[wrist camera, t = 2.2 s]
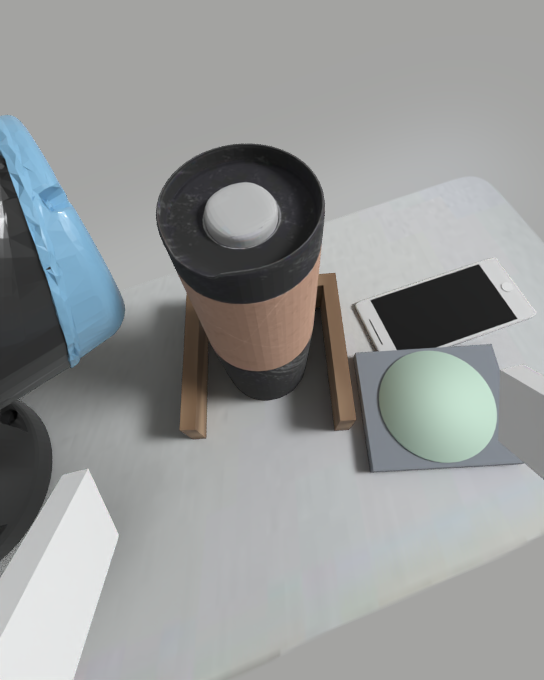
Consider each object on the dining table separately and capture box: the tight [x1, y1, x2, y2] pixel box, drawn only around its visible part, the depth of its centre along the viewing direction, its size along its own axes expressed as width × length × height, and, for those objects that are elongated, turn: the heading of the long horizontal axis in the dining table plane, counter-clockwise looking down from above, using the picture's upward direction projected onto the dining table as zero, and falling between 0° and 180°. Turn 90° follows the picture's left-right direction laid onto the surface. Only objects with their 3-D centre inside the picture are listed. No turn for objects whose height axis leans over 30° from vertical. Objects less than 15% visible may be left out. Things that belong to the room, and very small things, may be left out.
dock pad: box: [354, 344, 524, 472], centre depth 31 cm, size 12×10×1 cm
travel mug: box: [156, 144, 325, 400], centre depth 25 cm, size 8×8×20 cm
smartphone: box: [355, 258, 536, 351], centre depth 36 cm, size 7×15×1 cm, turn 109°
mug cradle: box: [180, 273, 356, 439], centre depth 33 cm, size 13×13×4 cm
